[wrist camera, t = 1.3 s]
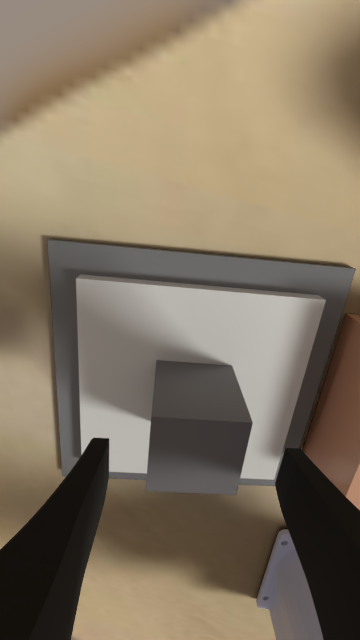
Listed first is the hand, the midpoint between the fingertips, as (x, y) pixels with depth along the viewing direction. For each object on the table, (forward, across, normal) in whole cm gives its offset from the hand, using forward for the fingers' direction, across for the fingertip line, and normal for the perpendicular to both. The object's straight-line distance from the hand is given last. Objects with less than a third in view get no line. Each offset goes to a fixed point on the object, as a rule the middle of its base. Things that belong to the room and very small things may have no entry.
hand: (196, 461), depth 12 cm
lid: (+5, 0, 0) cm, 5 cm away
